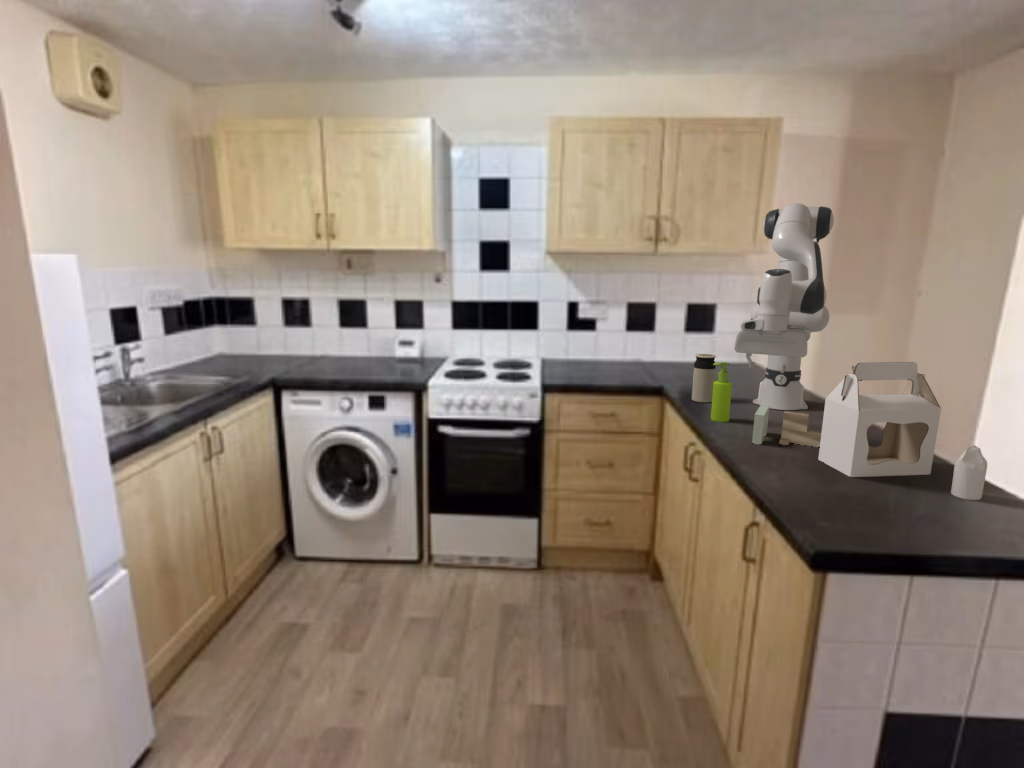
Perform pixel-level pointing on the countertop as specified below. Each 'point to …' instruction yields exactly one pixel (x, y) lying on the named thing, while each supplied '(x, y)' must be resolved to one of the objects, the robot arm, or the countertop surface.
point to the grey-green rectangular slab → (760, 424)
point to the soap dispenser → (721, 395)
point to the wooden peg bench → (798, 430)
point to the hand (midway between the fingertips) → (768, 369)
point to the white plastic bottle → (969, 474)
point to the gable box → (905, 414)
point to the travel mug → (703, 378)
